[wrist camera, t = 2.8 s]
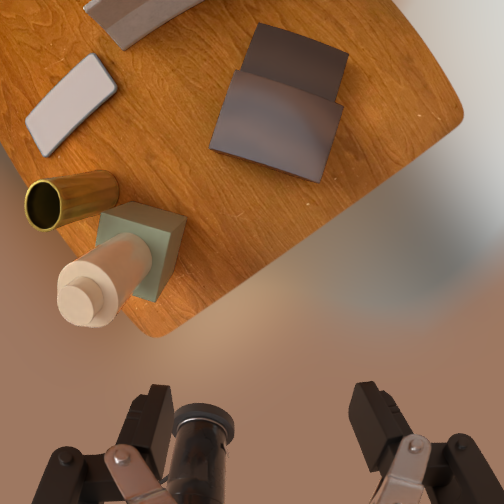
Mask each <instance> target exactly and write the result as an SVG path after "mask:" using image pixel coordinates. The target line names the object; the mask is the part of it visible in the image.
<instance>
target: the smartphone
mask: <svg viewBox="0 0 504 504" xmlns="http://www.w3.org/2000/svg"><path fill="white" fill-rule="evenodd" d="M116 91H117V84H116V83H115V82H114V80H113V79H112V77H111V76H110V74H109V73H108V71H107V70H106V68H105V67H104V65H103V64H102V62H101V61H100V59H99V58H98V57H97V55H96V54H95V53H90V54H88V55H87V56H86V57H85V58H84V59H83V60H82V61H81V62H79V63H78V64H77V65H76V66H75V67H74V68H73V69H72V70H71V71H70V72H69V73H68V74H67V75H66V76H65V77H64V78H63V79H62V80H61V81H60V82H59V83H58V84H57V85H56V86H55V87H54V88H53V89H52V90H51V91H50V92H49V93H48V94H47V95H46V96H45V97H44V98H43V99H42V100H41V101H40V103H39V104H38V105H37V106H36V107H35V108H34V109H33V110H32V112H31V113H30V114H29V115H28V116H27V117H26V120H25V124H26V126H27V128H28V130H29V132H30V134H31V136H32V137H33V139H34V141H35V143H36V145H37V147H38V148H39V150H40V152H41V154H42V156H43V157H49V156H50V155H51V154H52V153H53V152H54V151H55V150H56V148H57V147H58V146H59V145H60V144H61V143H62V142H63V141H64V140H65V139H66V138H67V137H68V136H69V135H70V134H71V133H72V132H73V131H74V130H75V129H76V128H77V127H78V126H79V125H80V124H81V123H82V122H83V121H84V120H85V119H86V118H87V117H89V116H90V115H91V114H92V113H93V112H94V111H95V110H96V109H97V108H98V107H99V106H101V105H102V104H103V103H104V102H105V101H106V100H107V99H109V98H110V97H111V96H112V95H113V94H114V93H116Z"/></svg>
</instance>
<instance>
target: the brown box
mask: <svg viewBox="0 0 504 504" xmlns="http://www.w3.org/2000/svg"><path fill="white" fill-rule="evenodd" d="M348 56H349V54H348V53H346V52H343V51H341V50H339V49H336V48H334V47H331V46H329V45H326V44H324V43H321V42H318V41H316V40H313V39H310V38H307V37H304V36H302V35H299V34H296V33H293V32H289V31H286V30H283V29H280V28H277V27H273V26H270V25H266V24H263V23H258V25H257V28H256V30H255V33H254V35H253V38H252V40H251V43H250V45H249V48H248V51H247V53H246V56H245V59H244V61H243V64H242V67H241V69H240V71H239V70H235V72H234V74H233V77H232V80H231V83H230V86H229V88H228V91H227V94H226V97H225V100H224V103H223V105H222V108H221V111H220V114H219V117H218V120H217V123H216V126H215V129H214V132H213V135H212V139H211V142H210V145H209V149H210V150H212V151H214V152H216V153H220V154H223V155H227V156H230V157H233V158H237V159H240V160H244V161H247V162H250V163H253V164H257V165H260V166H263V167H266V168H269V169H272V170H275V171H278V172H281V173H284V174H287V175H290V176H293V177H296V178H299V179H302V180H305V181H310V182H314V183H320V181H321V178H322V175H323V172H324V169H325V166H326V162H327V159H328V156H329V153H330V150H331V147H332V144H333V141H334V137H335V134H336V131H337V128H338V124H339V121H340V118H341V115H342V111H343V108H344V106H342V105H340V104H337V103H335V99H336V96H337V93H338V89H339V86H340V83H341V79H342V76H343V73H344V69H345V66H346V63H347V59H348Z"/></svg>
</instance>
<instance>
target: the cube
mask: <svg viewBox="0 0 504 504" xmlns="http://www.w3.org/2000/svg"><path fill="white" fill-rule="evenodd" d="M186 221H187V217H186V216H182V215H179V214H176V213H172V212H169V211H165V210H162V209H158V208H155V207H151V206H148V205H144V204H141V203H137V202H134V201H131V202H128V203H125V204H122V205H120V206H117V207H114V208H111V209H109V210H106V211H103V212H101V216H100V221H99V227H98V233H97V239H96V245H95V247H96V246H98V245H99V244H101V243H102V242H104V241H106V240H107V239H109V238H111V237H112V236H114V235H116V234H118V233H124V232H127V233H132V234H135V235H137V236H139V237H140V238H141V239H142V240H143V241H144V242H145V243H146V244H147V246H148V247H149V249H150V252H151V256H152V267H151V270H150V272H149V274H148V275H147V277H146V278H145V279H144V280H143V282H142V283H141V284H140V286H139V287H138V288H137V289H136V291H135V292H134V293H133V294H132V295H133V296H136V297H139V298H142V299H145V300H148V301H152V302H156V301H157V299H158V297H159V296H160V294H161V292H162V290H163V289H164V287H165V285H166V284H167V282H168V280H169V279H170V277H171V275H172V274H173V272H174V268H175V264H176V260H177V256H178V252H179V248H180V244H181V240H182V236H183V232H184V228H185V225H186Z"/></svg>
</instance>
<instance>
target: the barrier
mask: <svg viewBox="0 0 504 504" xmlns="http://www.w3.org/2000/svg"><path fill="white" fill-rule="evenodd" d="M202 1H204V0H92V1H90V2H89V3H88V4H86V5H85V6H84V7H83V9H84V10H85V12H86V13H87V14H88V15H89V16H91V17H92V18H93V19H94V20H95V21H96V22H97V23H98V24H99V25H100V26H101V27H102V28H103V29H104V30H105V31H106V32H107V33H108V34H109V35H110V37H111V38H112V39H113V40H114V41H115V42H116V43H117V45H118V46H119V47H120V48H121V49H122V50H123V51H125V50H126V49H128V48H129V47H130V46H132V45H133V44H134V43H136V42H137V41H139V40H140V39H142V38H143V37H144V36H146V35H147V34H149V33H150V32H152V31H153V30H155V29H156V28H158V27H160V26H161V25H163V24H164V23H166V22H167V21H169V20H171V19H172V18H174V17H176V16H177V15H179V14H181V13H182V12H184V11H186V10H188V9H190V8H191V7H193V6H195V5H197V4H199V3H200V2H202Z"/></svg>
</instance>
